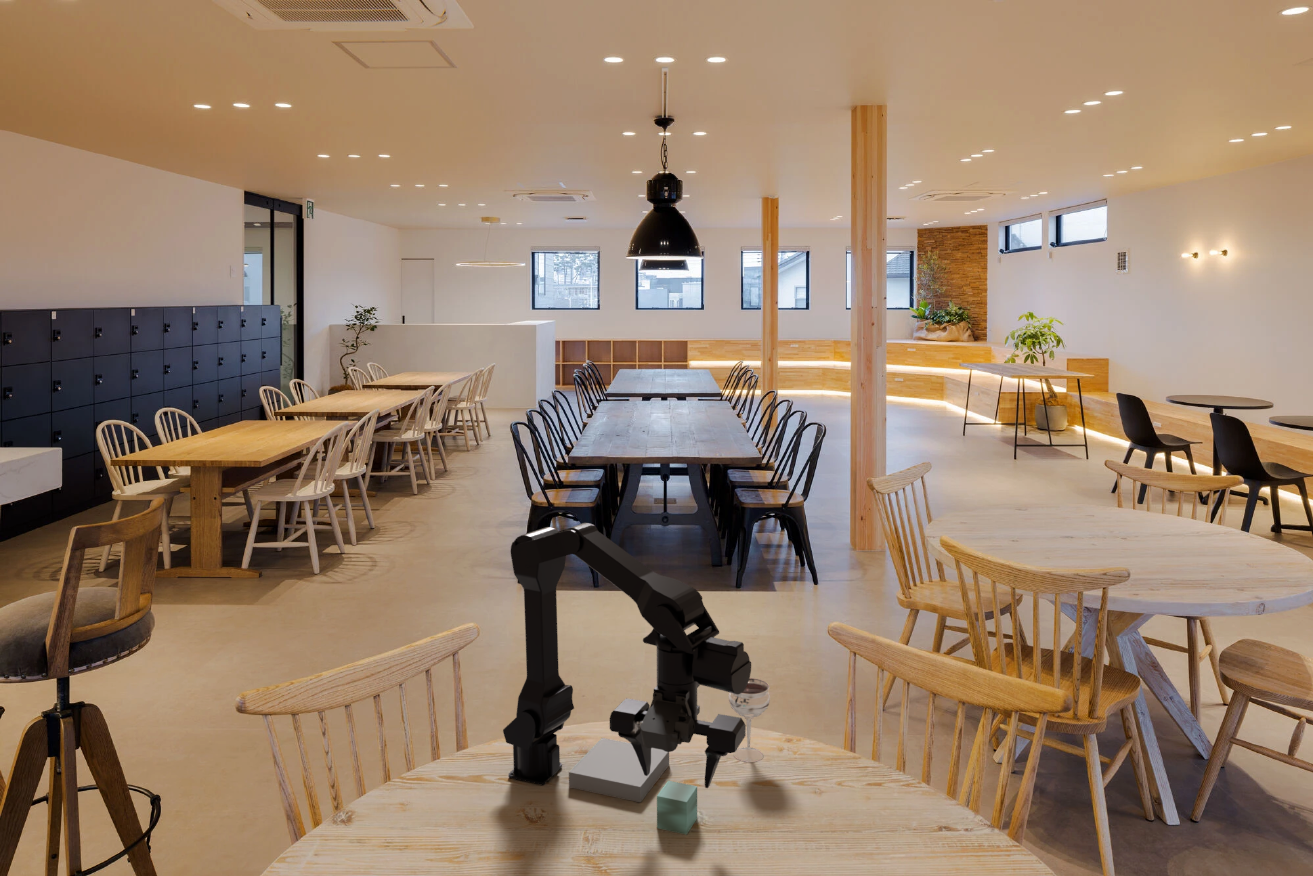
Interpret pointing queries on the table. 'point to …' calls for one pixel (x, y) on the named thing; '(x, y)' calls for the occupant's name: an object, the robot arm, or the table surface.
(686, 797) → the teal block
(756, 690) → the wineglass
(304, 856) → the table surface
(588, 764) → the plinth
